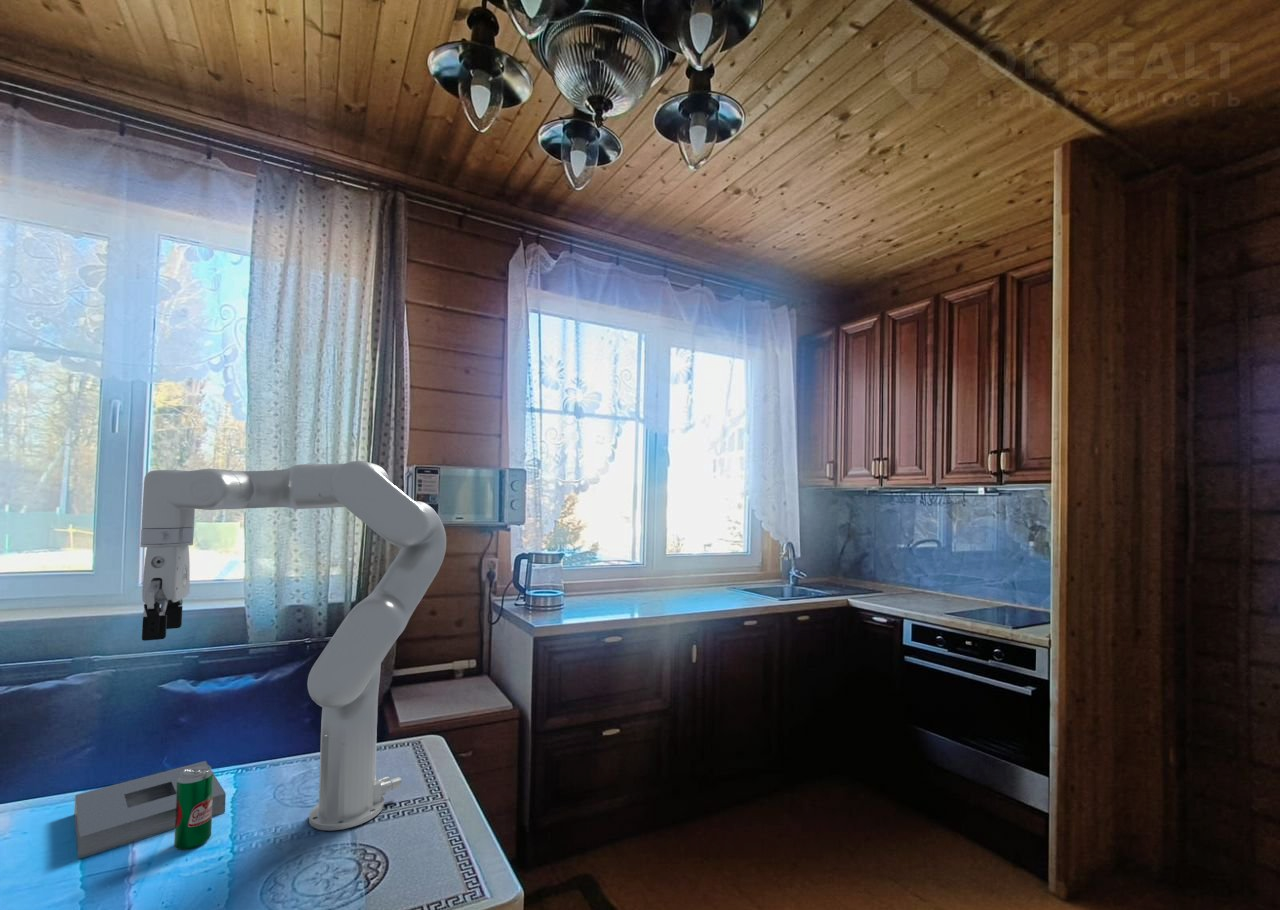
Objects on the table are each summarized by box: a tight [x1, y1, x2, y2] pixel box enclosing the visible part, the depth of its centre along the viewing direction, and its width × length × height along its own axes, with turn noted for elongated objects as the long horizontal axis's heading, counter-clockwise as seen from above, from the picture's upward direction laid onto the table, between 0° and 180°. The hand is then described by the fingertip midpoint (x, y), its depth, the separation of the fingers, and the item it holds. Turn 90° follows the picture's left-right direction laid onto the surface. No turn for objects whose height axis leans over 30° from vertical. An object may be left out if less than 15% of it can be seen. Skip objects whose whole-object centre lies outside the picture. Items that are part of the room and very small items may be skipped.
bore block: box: [73, 760, 227, 860], centre depth 111 cm, size 20×20×4 cm
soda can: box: [173, 765, 215, 851], centre depth 102 cm, size 5×5×12 cm
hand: (162, 633), depth 106 cm, fingers open, 9 cm apart
